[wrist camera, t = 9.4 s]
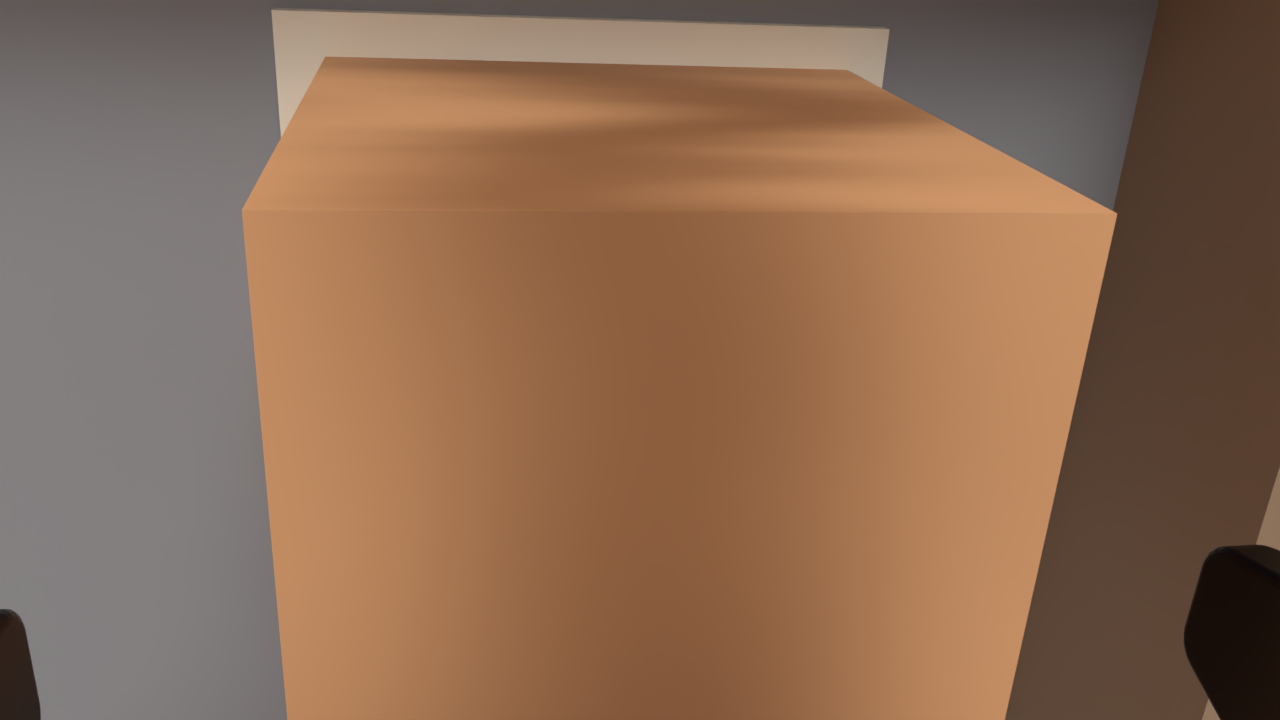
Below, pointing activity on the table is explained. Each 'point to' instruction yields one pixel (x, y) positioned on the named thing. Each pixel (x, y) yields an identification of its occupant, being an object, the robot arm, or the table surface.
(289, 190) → the block
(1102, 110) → the arena
